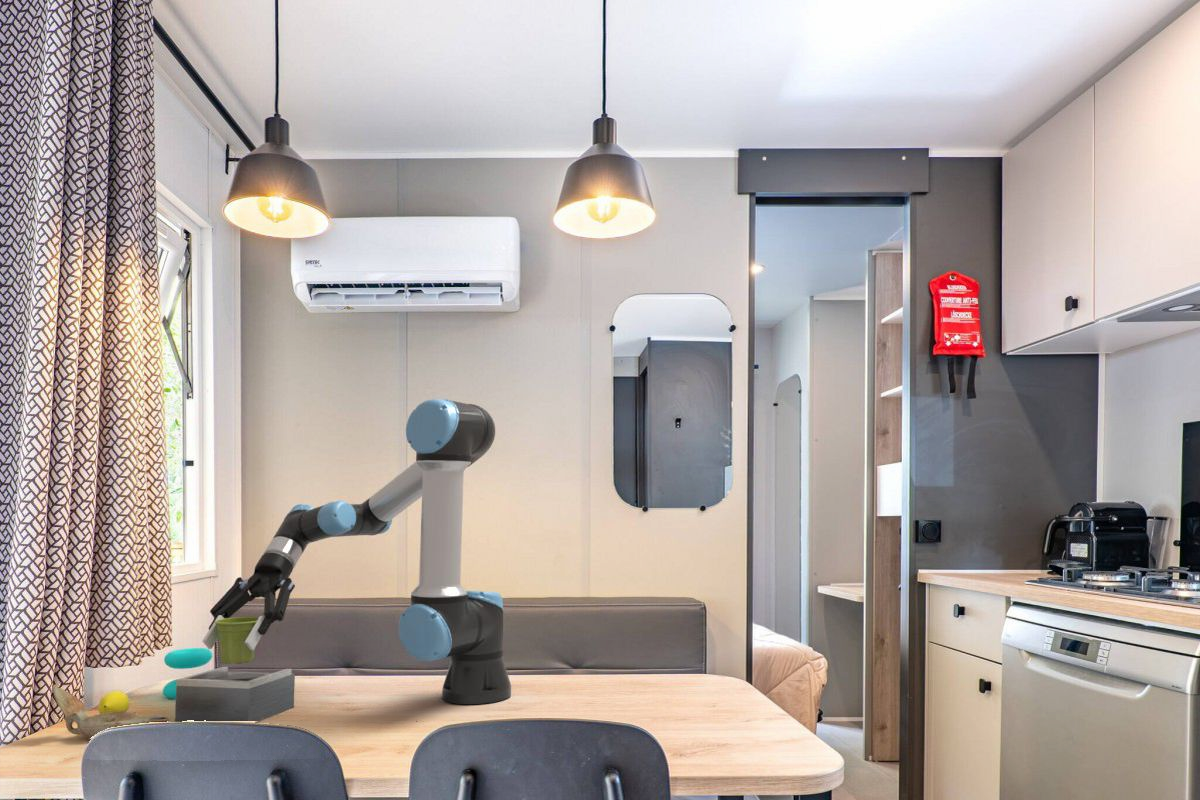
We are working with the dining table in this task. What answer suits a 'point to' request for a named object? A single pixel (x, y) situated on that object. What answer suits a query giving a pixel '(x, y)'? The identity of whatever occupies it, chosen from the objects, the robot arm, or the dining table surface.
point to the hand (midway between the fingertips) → (227, 645)
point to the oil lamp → (95, 716)
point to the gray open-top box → (234, 695)
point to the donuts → (184, 664)
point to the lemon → (114, 702)
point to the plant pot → (235, 639)
